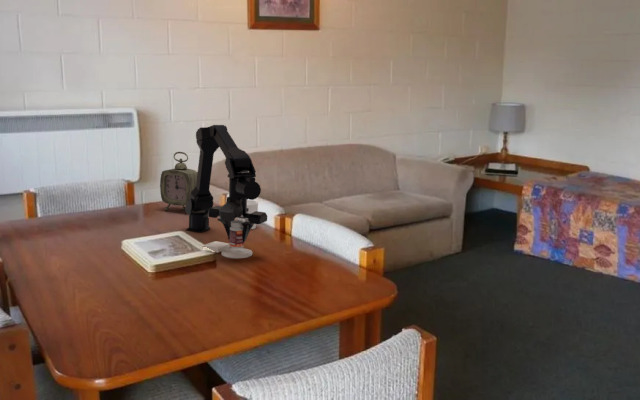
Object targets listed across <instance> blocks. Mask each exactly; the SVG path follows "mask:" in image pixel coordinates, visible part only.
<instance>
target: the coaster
mask: <svg viewBox="0 0 640 400" xmlns="http://www.w3.org/2000/svg"><path fill="white" fill-rule="evenodd" d="M252 255H253V251H252V250H251V249H249V248H245V247H243V248H231V247H230V248H228V249H225V250H223V251H221V256H222V257H224V258H227V259H246V258H247V259H248V258H251V256H252Z"/></svg>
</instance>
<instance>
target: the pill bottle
mask: <svg viewBox="0 0 640 400" xmlns="http://www.w3.org/2000/svg"><path fill="white" fill-rule="evenodd" d="M242 223H243V221H240V220H238V219H236V220H234V221H231V226H232V227H230V240H229V242H228V243H229V246H230V248H245V242H243V225H242Z"/></svg>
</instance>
